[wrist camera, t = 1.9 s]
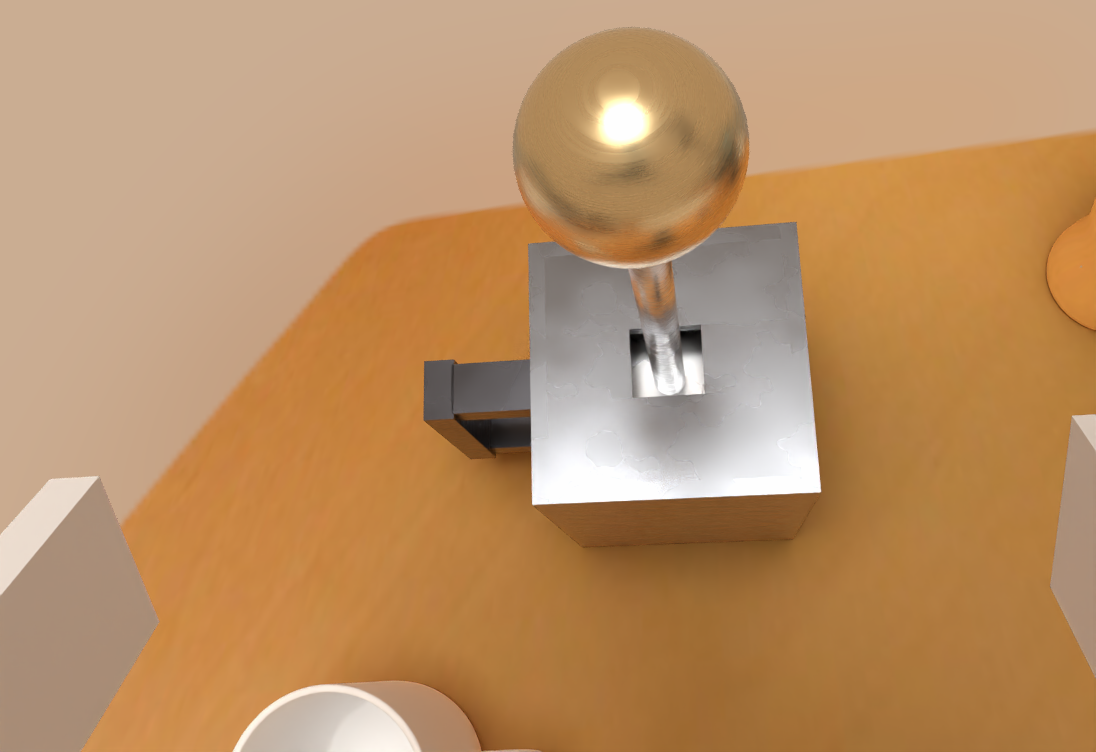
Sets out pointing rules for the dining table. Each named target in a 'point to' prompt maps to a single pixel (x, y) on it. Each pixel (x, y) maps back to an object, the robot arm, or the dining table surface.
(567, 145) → the plunger
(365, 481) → the dining table surface
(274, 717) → the cup
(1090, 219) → the beer glass
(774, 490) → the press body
